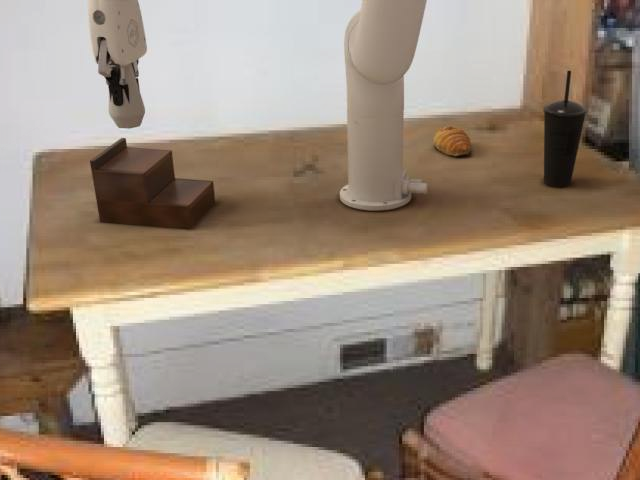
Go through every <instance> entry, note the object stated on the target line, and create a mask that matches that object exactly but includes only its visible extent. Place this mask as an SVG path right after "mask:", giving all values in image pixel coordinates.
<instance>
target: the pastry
mask: <svg viewBox="0 0 640 480" xmlns="http://www.w3.org/2000/svg"><path fill="white" fill-rule="evenodd" d="M433 144H434V147H435V148H436V149H437V150H438V151H439V152H441V153H442V154H444V155H447V156H453V157H457V156H458V157H459V156H463V155H469V153H470V152H471V150H472V143H471V139H470V137H469V135H468V134H467V132H465V131H464V130H463V129H458V127H455V126H452V125H449V126H448V125H447V126H444V127H443V128H440V129H438V131H437V132H436V133H435V135H434V137H433Z"/></svg>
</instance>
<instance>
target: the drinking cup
mask: <svg viewBox="0 0 640 480" xmlns="http://www.w3.org/2000/svg"><path fill="white" fill-rule="evenodd" d="M571 78H572V71H571V70H567V71H566V78H565V79H566V80H565V88H564V89H565V90H564V99H559V100H555V101H552V102H550V103H546V104H545V105H543V106H542V111H543V113H544V114H543V115H544V119H543V121H544V123H543V183H544V185H546V186H548V187H551V188H566V187H569V186H571V184H572V180H573V174H574V169H575V164H576V160H577V155H578V151H579V145H580V141H581V138H582V137H581V136H582V132H583V128H584V123H585V118H586V115H587V114H588V108H587V107H586V106H585V105H583V104H581V103H579V102H577V101H575V100H569V95H570V88H571V87H570V86H571Z"/></svg>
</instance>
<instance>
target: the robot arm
mask: <svg viewBox="0 0 640 480" xmlns="http://www.w3.org/2000/svg"><path fill="white" fill-rule="evenodd" d="M427 1H428V0H361V7H360V10H358V11H357V12H356V13H355V14H354V15H353V16H352V17H351V19H350V20H349V22H348V23H347V26H346V28H345V31H344V36H343V51H344V54H343V55H344V65H345V66H344V67H345V81H346V82H345V83H346V84H345V85H346V136H347V139H346V140H347V184H346V185H344V186H343V187H342V188H341V189H340V191H339V200H340V201H341V202H342V204H344V205H345V206H347V207H350V208H352V209H356V210H361V211H371V212H373V211H374V212H376V211H390V210H394V209H398V208H402V207H404V206H405V205H407V204H408V203H409V202H410V201H411V200H412V194H416V195H427V194H428V183H427V182H424V180H423V179H422V178H421V179H420V178H410V176H408V170H407V169H404V121H405V120H404V115H405V114H404V113H405V112H404V111H405V74H407V72H408V71H409V69H410V68H411V66H412V64H413V61H414V59H415V55H416V51H417V47H418V42H419V39H420V38H419V37H420V34H421V29H422V25H423V19H424V15H425V11H426V6H427ZM140 6H141V5H140V3H139V0H87V12H88V13H87V14H88V15H87V16H88V26H89V35H90V44H91V50H92V55H93V60H94V62H95V63H96V64H97V67H98V68H97V72H98V74H99V76H102V77H104V79H105V83H106V85H107V87H108V95H109V94H110V101H111V98H112V97H113V103H114V105H116V106H122V105H123V89H124V91H125V94H126V97H127V100H128V102H129V104H130V101H129V86H128V84H125V72H124V66H127V65H129V64H132V67H133V71H134V74H135V77H136V81H137V84H138V87H139V90H140V82H139V75H140V71H139V61H140V59H141V58H142V57H144V56H145V55H146V54H147V52H148V45H147V39H146V32H145V27H144V20H143V16H142V12H141V11H142V10H141V7H140ZM110 60H113V61H114V63H110ZM111 68H114V69H118V73H117V72H116V71H115V70H112V69H111ZM140 91H141V90H140ZM118 99H119V100H118Z"/></svg>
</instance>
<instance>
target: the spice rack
mask: <svg viewBox="0 0 640 480" xmlns="http://www.w3.org/2000/svg"><path fill="white" fill-rule="evenodd" d="M89 165H90V170H91V175H92V176H91V177H92V182H93V188H94V193H95V194H94V195H95V200H96V206H97V212H98V219H99V222H100V223H109V224H120V225H134V226H144V227H154V228H155V227H157V228H166V229H167V228H168V229H178V230H179V229H182V230H191V229H192V228H193V227H194V226H195V225H196V224H197V223H198V222H199V221H200V220H201V219H202V218H203V216H205V214H207V212H208V211H209V210H210V209H211V208H212V207H213V206H214V205H215V204H216V195H215V185H214V180H203V179H193V178H192V179H191V178H179V177H177V178H176V174H175V166H174V165H175V164H174V157H173V150H171V149H162V148H161V149H159V148H146V147H145V148H144V147H131V146H128V144H127V138H126V137H121V138H119V139H118V140H116V141H115V142H114V143H112V144H111V145H110V146H108V147H106V148H105V149H104V150H102V151H101V152H100V153H98V154H96V155H95V156H94V157H93V158H91V159H90V160H89Z"/></svg>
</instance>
